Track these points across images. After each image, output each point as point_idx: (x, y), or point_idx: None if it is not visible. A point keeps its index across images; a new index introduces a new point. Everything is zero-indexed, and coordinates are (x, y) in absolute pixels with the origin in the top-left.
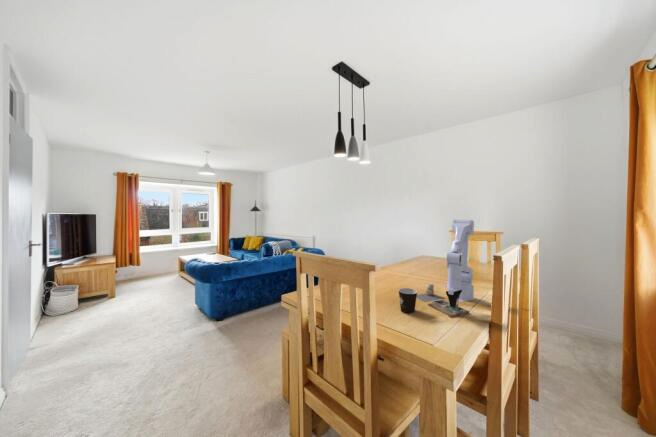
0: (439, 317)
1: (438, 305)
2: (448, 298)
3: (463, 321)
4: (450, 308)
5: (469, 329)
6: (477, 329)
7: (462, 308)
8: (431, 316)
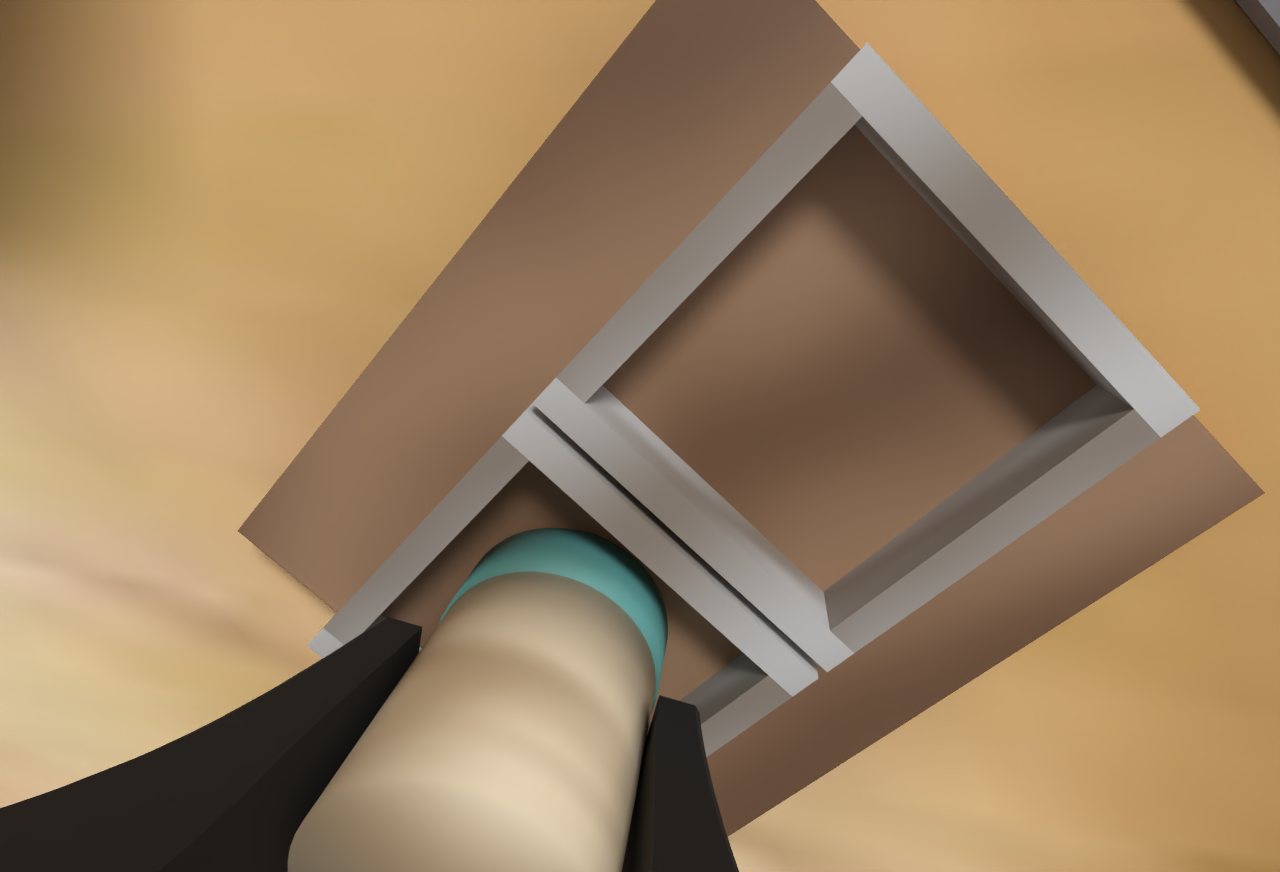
0: (126, 298)
1: (638, 287)
2: (144, 756)
3: (238, 694)
4: (463, 587)
5: (11, 721)
6: None
7: None
8: (56, 113)
